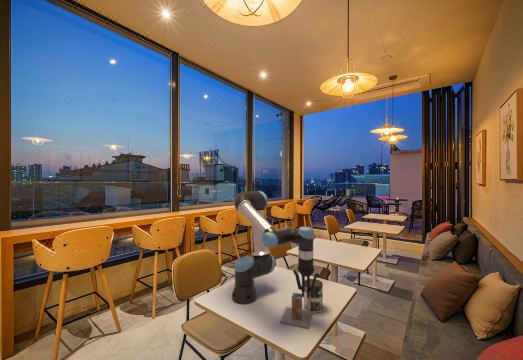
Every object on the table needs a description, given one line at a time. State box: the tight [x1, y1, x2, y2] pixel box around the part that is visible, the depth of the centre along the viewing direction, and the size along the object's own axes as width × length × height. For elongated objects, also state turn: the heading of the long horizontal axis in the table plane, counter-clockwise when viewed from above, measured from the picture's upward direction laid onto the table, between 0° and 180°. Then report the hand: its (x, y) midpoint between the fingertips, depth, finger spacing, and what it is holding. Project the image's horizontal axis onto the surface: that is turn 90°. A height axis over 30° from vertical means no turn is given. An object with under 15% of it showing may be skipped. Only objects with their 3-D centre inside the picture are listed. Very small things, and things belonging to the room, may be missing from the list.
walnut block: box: [291, 292, 303, 320], centre depth 119 cm, size 4×4×11 cm
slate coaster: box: [279, 306, 313, 330], centre depth 120 cm, size 14×14×1 cm
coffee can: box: [303, 278, 324, 314], centre depth 129 cm, size 10×10×14 cm
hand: (305, 303), depth 118 cm, fingers closed
